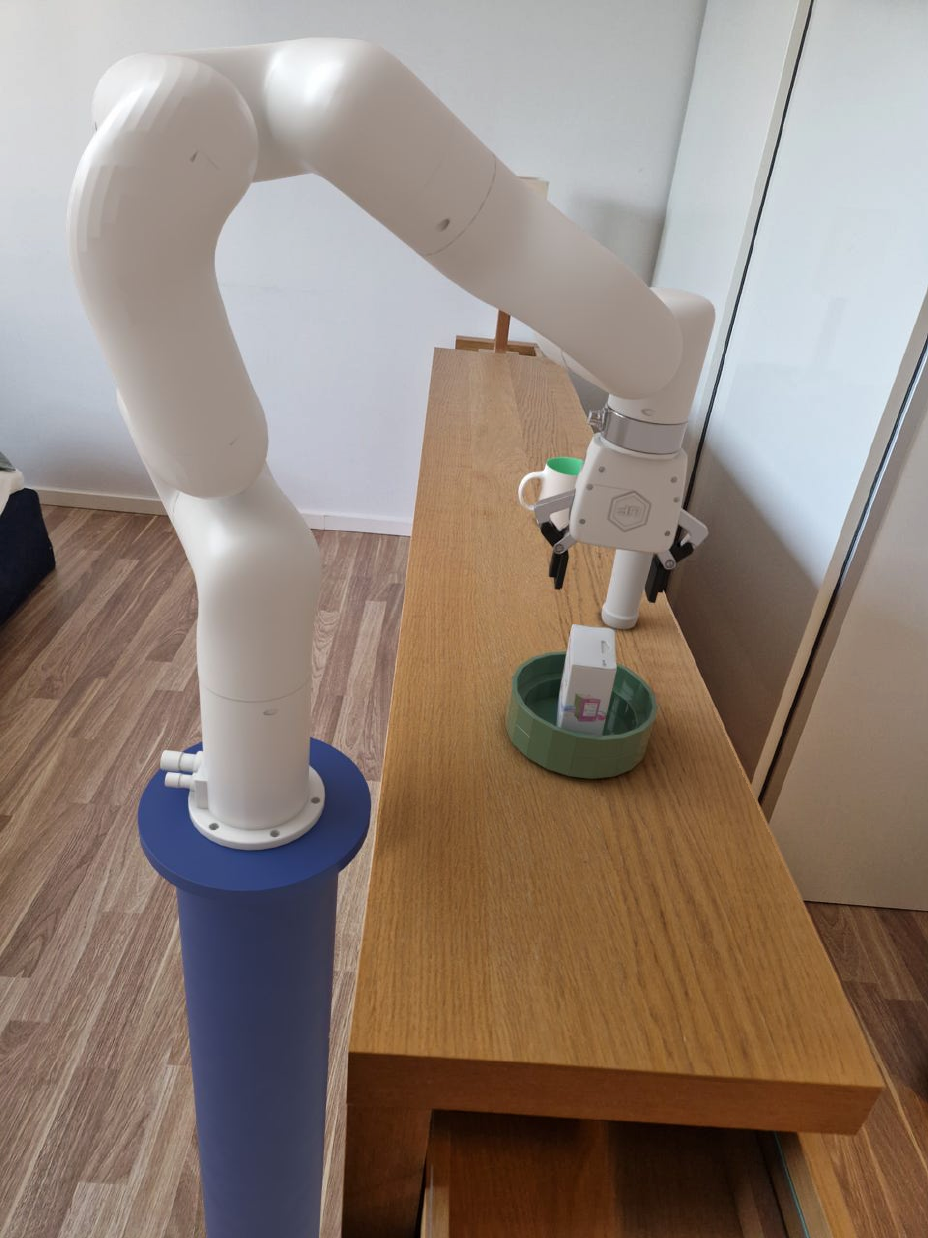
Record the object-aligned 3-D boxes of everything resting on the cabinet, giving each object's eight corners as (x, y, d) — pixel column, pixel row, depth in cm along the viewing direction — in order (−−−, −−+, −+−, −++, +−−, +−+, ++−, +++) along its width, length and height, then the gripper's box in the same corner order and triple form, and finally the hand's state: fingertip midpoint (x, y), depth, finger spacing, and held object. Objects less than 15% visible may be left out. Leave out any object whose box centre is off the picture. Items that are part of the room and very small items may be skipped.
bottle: (608, 630, 120) (647, 460, 107) (594, 611, 125) (631, 445, 112) (642, 629, 122) (685, 461, 109) (628, 610, 126) (668, 445, 113)
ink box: (554, 704, 103) (571, 620, 97) (596, 711, 103) (616, 626, 97) (553, 750, 96) (571, 662, 90) (598, 757, 96) (620, 669, 90)
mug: (519, 532, 144) (529, 473, 139) (509, 511, 151) (518, 454, 146) (588, 534, 147) (600, 476, 141) (575, 513, 153) (586, 457, 148)
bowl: (504, 773, 93) (512, 729, 90) (505, 684, 107) (511, 644, 104) (654, 790, 93) (667, 747, 90) (635, 700, 107) (646, 660, 104)
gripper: (552, 430, 78) (520, 596, 86) (743, 457, 78) (692, 620, 87) (549, 405, 84) (519, 562, 93) (725, 430, 85) (679, 584, 93)
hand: (603, 590), depth 90 cm, fingers open, 9 cm apart
